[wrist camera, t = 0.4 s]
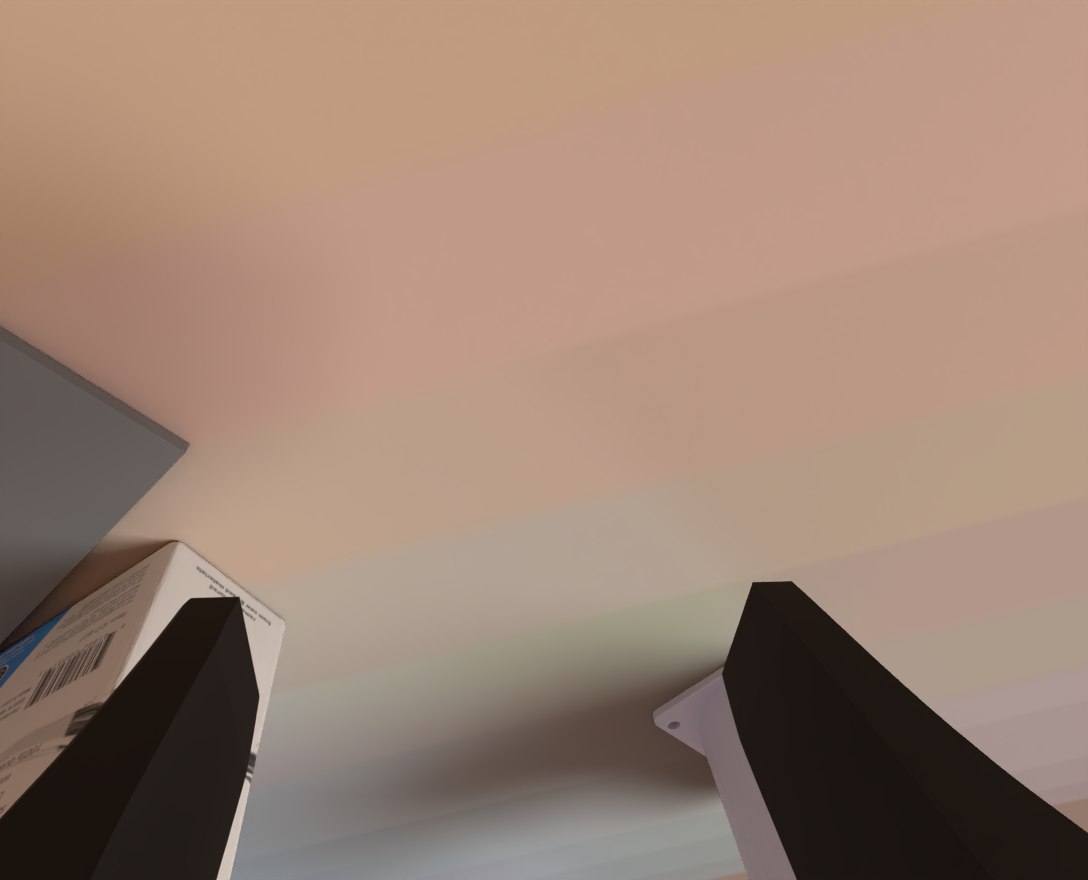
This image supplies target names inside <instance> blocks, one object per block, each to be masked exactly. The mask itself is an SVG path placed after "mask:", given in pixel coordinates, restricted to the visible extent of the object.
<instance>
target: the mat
mask: <svg viewBox="0 0 1088 880" xmlns="http://www.w3.org/2000/svg"><path fill="white" fill-rule="evenodd" d="M188 446H189V443H187V442H186V441H184V440H182V439H181V438H179V437H177V436H176V435H174V434H173V433H171V432H169V431H168V430H166V429H165V428H163V427H161V426H160V425H158V424H156V423H155V422H153V421H152V420H150V419H148V418H147V417H145V416H144V415H142V414H140V413H139V412H137V411H135V410H134V409H132V408H131V407H129V406H127V405H126V404H124V403H123V402H121V401H119V400H118V399H116V398H114V397H113V396H111V395H110V394H108V393H106V392H105V391H103V390H102V389H100V388H98V387H97V386H95V385H93V384H92V383H90V382H89V381H87V380H85V379H84V378H82V377H81V376H79V375H77V374H76V373H74V372H72V371H71V370H69V369H68V368H66V367H64V366H63V365H61V364H60V363H58V362H56V361H55V360H53V359H51V358H50V357H48V356H47V355H45V354H43V353H42V352H40V351H39V350H37V349H35V348H34V347H32V346H30V345H29V344H27V343H26V342H24V341H22V340H21V339H19V338H18V337H16V336H14V335H13V334H11V333H9V332H8V331H6V330H5V329H3V328H1V327H0V644H1V643H2V642H3V641H4V640H5V639H6V638H7V637H8V636H9V635H10V634H11V633H12V632H13V631H14V630H15V628H16V627H17V626H18V625H19V624H20V623H21V622H22V621H23V620H24V619H25V618H26V617H27V616H28V615H29V614H30V613H31V612H32V611H33V610H34V609H35V608H36V607H37V606H38V605H39V604H40V603H41V602H42V600H43V599H44V598H45V597H46V596H47V595H48V594H49V593H50V592H51V591H52V590H53V589H54V588H55V587H56V586H57V585H58V584H59V583H60V582H61V581H62V580H63V579H64V578H65V577H66V576H67V575H68V574H69V573H70V571H71V570H72V569H73V568H74V567H75V566H76V565H77V564H78V563H79V562H80V561H81V560H82V559H83V558H84V557H85V556H86V555H87V554H88V553H89V552H90V551H91V550H92V549H93V548H94V547H95V546H96V545H97V543H98V542H99V541H100V540H101V539H102V538H103V537H104V536H105V535H106V534H107V533H108V532H109V531H110V530H111V529H112V528H113V527H114V526H115V525H116V524H117V523H118V522H119V521H120V520H121V519H122V518H123V517H124V515H125V514H126V513H127V512H128V511H129V510H130V509H131V508H132V507H133V506H134V505H135V504H136V503H137V502H138V501H139V500H140V499H141V498H142V497H143V496H144V495H145V494H146V493H147V492H148V491H149V490H150V489H151V488H152V486H153V485H154V484H155V483H156V482H157V481H158V480H159V479H160V478H161V477H162V476H163V475H164V474H165V473H166V472H167V471H168V470H169V469H170V468H171V467H172V466H173V465H174V464H175V463H176V462H177V461H178V460H179V458H180V457H181V456H182V455H183V454H184V453H185V452H186V450H187V448H188Z"/></svg>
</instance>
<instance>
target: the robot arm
mask: <svg viewBox="0 0 1088 880" xmlns="http://www.w3.org/2000/svg"><path fill="white" fill-rule="evenodd" d="M259 698H260V695H259V690H258V685H257V680H256V675H255V670H254V665H253V660H252V656H251V651H250V646H249V641H248V636H247V631H246V626H245V621H244V616H243V611H242V606H241V601H240V597H207V598H190V599H189V600H188V601H187V602H186V603H184V604H183V606H182V607H181V608H180V609H179V611H178V612H177V613H176V615H175V616H174V617H173V618H172V620H171V621H170V622H169V623H168V625H167V626H166V627H165V629H164V630H163V631H162V632H161V634H160V635H159V636H158V637H157V639H156V640H155V641H154V643H153V644H152V645H151V646H150V648H149V649H148V650H147V651H146V653H145V654H144V655H143V656H142V658H141V659H140V660H139V661H138V663H137V664H136V665H135V666H134V667H133V669H132V670H131V671H130V672H129V673H128V675H127V676H126V677H125V678H124V680H123V681H122V682H121V683H120V684H119V686H118V687H117V688H116V689H115V691H114V692H113V693H112V694H111V695H110V696H109V698H108V699H107V700H106V701H105V702H104V703H103V705H102V706H101V707H100V708H99V709H98V710H97V712H96V713H95V714H94V715H93V716H92V717H91V719H90V720H89V721H88V722H87V723H86V724H85V725H84V727H83V728H82V729H81V730H80V731H79V732H78V734H77V735H76V736H75V737H74V738H73V739H72V741H71V742H70V743H69V744H68V745H67V746H66V747H65V749H64V750H63V751H62V752H61V753H60V754H59V755H58V756H57V758H56V759H55V760H54V761H53V762H52V763H51V764H50V765H49V766H48V767H47V768H46V770H45V771H44V772H43V773H42V774H41V775H40V776H39V777H38V778H37V779H36V780H35V781H34V782H33V783H32V785H31V786H30V787H29V788H28V789H27V790H26V791H25V792H24V793H23V794H22V795H21V796H20V797H19V798H18V800H17V801H16V802H15V803H14V804H13V805H12V806H11V807H10V808H9V809H8V810H7V811H6V812H5V813H4V815H3V816H2V817H1V818H0V880H217V876H218V873H219V869H220V866H221V862H222V859H223V855H224V852H225V849H226V845H227V842H228V838H229V835H230V831H231V828H232V824H233V820H234V817H235V813H236V810H237V806H238V803H239V799H240V796H241V792H242V788H243V785H244V781H245V778H246V774H247V769H248V763H249V758H250V752H251V747H252V741H253V735H254V729H255V723H256V716H257V710H258V704H259ZM653 720H654V723H655V725H656V726H658V727H659V728H661V729H662V730H664V731H666V732H667V733H669V734H670V735H672V736H674V737H675V738H677V739H678V740H680V741H682V742H683V743H685V744H686V745H688V746H690V747H691V748H693V749H694V750H696V751H697V752H699V753H701V754H702V755H704V756H705V757H707V760H708V763H709V766H710V769H711V771H712V774H713V777H714V780H715V783H716V786H717V789H718V792H719V795H720V797H721V800H722V803H723V806H724V809H725V812H726V815H727V818H728V820H729V823H730V826H731V829H732V832H733V835H734V838H735V841H736V844H737V846H738V849H739V852H740V855H741V858H742V861H743V864H744V867H745V870H746V872H747V875H748V878H749V880H1088V833H1087V832H1086V831H1084V830H1083V829H1082V828H1080V827H1079V826H1078V825H1076V824H1075V823H1074V822H1072V821H1071V820H1070V819H1068V818H1067V817H1066V816H1064V815H1063V814H1062V813H1060V812H1059V811H1057V810H1056V809H1055V808H1053V807H1052V806H1051V805H1049V804H1048V803H1047V802H1045V801H1044V800H1043V799H1041V798H1040V797H1039V796H1037V795H1036V794H1035V793H1033V792H1032V791H1030V790H1029V789H1028V788H1027V787H1025V786H1024V785H1023V784H1021V783H1020V782H1019V781H1018V780H1016V779H1015V778H1014V777H1012V776H1011V775H1010V774H1009V773H1007V772H1006V771H1005V770H1003V769H1002V768H1001V767H1000V766H998V765H997V764H996V763H995V762H994V761H992V760H991V759H990V758H989V757H988V756H986V755H985V754H984V753H983V752H981V751H980V750H979V749H978V748H977V747H975V746H974V745H973V744H972V743H971V742H969V741H968V740H967V739H966V738H965V737H963V736H962V735H961V734H960V733H958V732H957V731H956V730H955V729H954V728H952V727H951V726H950V725H949V724H948V723H947V722H945V721H944V720H943V719H942V718H941V717H940V716H938V715H937V714H936V713H935V712H934V711H933V710H932V709H930V708H929V707H928V706H927V705H926V704H925V703H924V702H922V701H921V700H920V699H919V698H918V697H917V696H916V695H914V694H913V693H912V692H911V691H910V690H909V689H908V688H907V687H906V686H904V685H903V684H902V683H901V682H900V681H899V680H898V679H897V678H896V677H894V676H893V675H892V674H891V673H890V672H889V671H888V670H887V669H886V668H885V667H884V666H882V665H881V664H880V663H879V662H878V661H877V660H876V659H875V658H874V657H873V656H872V655H871V654H869V653H868V652H867V651H866V650H865V649H864V648H863V647H862V646H861V645H860V644H859V643H858V642H857V641H856V640H854V639H853V638H852V637H851V636H850V635H849V634H848V633H847V632H846V631H845V630H844V629H843V628H842V627H841V626H840V625H838V624H837V623H836V622H835V621H834V620H833V619H832V618H831V617H830V616H829V615H828V614H827V613H826V612H825V611H824V610H822V609H821V608H820V607H819V606H818V605H817V604H816V603H815V602H814V601H813V600H812V599H811V598H809V597H808V596H807V595H806V594H805V593H804V592H803V591H802V590H801V589H800V588H798V587H797V586H796V585H795V584H794V583H793V582H792V581H785V582H753V583H752V586H751V589H750V592H749V595H748V598H747V601H746V604H745V607H744V610H743V613H742V616H741V619H740V622H739V625H738V628H737V631H736V633H735V636H734V639H733V642H732V645H731V648H730V651H729V654H728V657H727V660H726V663H725V665H724V666H723V667H721V668H720V669H718V670H717V671H715V672H713V673H712V674H710V675H709V676H707V677H706V678H704V679H702V680H701V681H699V682H698V683H696V684H695V685H693V686H692V687H690V688H688V689H687V690H685V691H684V692H682V693H681V694H679V695H678V696H676V697H674V698H673V699H671V700H670V701H668V702H667V703H665V704H663V705H662V706H660V707H659V708H657V709H656V710H655V711H654V712H653Z"/></svg>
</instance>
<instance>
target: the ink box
mask: <svg viewBox="0 0 1088 880" xmlns="http://www.w3.org/2000/svg"><path fill="white" fill-rule="evenodd" d="M207 597H240V601H241V606H242V611H243V616H244V621H245V626H246V631H247V636H248V641H249V646H250V651H251V656H252V660H253V665H254V670H255V675H256V680H257V685H258V690H259V695H260V698H259V704H258V710H257V716H256V723H255V729H254V735H253V741H252V747H251V752H250V758H249V763H248V769H247V774H246V778H245V781H244V785H243V788H242V792H241V796H240V799H239V803H238V806H237V810H236V813H235V817H234V820H233V824H232V828H231V831H230V835H229V838H228V842H227V845H226V849H225V852H224V855H223V859H222V862H221V866H220V869H219V873H218V876H217V880H230V877H231V872H232V867H233V863H234V858H235V853H236V849H237V844H238V840H239V835H240V831H241V826H242V822H243V817H244V812H245V807H246V803H247V798H248V794H249V789H250V784H251V779H252V776H253V769H254V766H255V761H256V756H257V752H258V748H259V743H260V739H261V734H262V730H263V725H264V721H265V716H266V712H267V707H268V703H269V698H270V693H271V688H272V683H273V679H274V674H275V670H276V666H277V662H278V657H279V652H280V648H281V643H282V638H283V634H284V629H285V622H284V621H283V620H282V619H281V618H280V617H278V616H277V615H275V614H274V613H273V612H271V611H270V610H269V609H267V608H266V607H265V606H264V605H262V604H261V603H260V602H258V601H257V600H255V599H254V598H253V597H252V596H250V595H249V594H248V593H246V592H245V591H244V590H243V589H241V588H240V587H239V586H238V585H236V584H235V583H234V582H233V581H231V580H230V579H229V578H227V577H226V576H225V575H223V574H222V573H221V572H219V571H218V570H217V569H216V568H214V567H213V566H212V565H210V564H209V563H208V562H206V561H205V560H204V559H202V558H201V557H200V556H198V555H197V554H196V553H194V552H193V551H192V550H191V549H189V548H188V547H187V546H186V545H185V544H183V543H181V542H171V543H169V544H167V545H166V546H164V547H163V548H161V549H160V550H158V551H156V552H155V553H153V554H152V555H150V556H148V557H147V558H145V559H144V560H142V561H141V562H139V563H138V564H136V565H135V566H133V567H132V568H130V569H129V570H127V571H126V572H124V573H123V574H121V575H120V576H118V577H116V578H115V579H113V580H112V581H110V582H109V583H107V584H106V585H104V586H103V587H101V588H100V589H98V590H97V591H95V592H93V593H92V594H90V595H89V596H87V597H86V598H84V599H83V600H81V601H79V602H78V603H76V604H75V605H73V606H72V607H70V608H69V609H67V610H65V611H64V612H62V613H61V614H59V615H58V616H56V617H55V618H53V619H52V620H50V621H49V622H47V623H46V624H44V625H43V626H41V627H40V628H38V629H37V630H35V631H33V632H32V633H30V634H29V635H27V636H26V637H24V638H23V639H21V640H20V641H18V642H17V643H15V644H14V645H12V646H11V647H9V648H7V649H6V650H4V651H3V652H1V653H0V818H1V817H2V816H3V815H4V813H5V812H6V811H7V810H8V809H9V808H10V807H11V806H12V805H13V804H14V803H15V802H16V801H17V800H18V798H19V797H20V796H21V795H22V794H23V793H24V792H25V791H26V790H27V789H28V788H29V787H30V786H31V785H32V783H33V782H34V781H35V780H36V779H37V778H38V777H39V776H40V775H41V774H42V773H43V772H44V771H45V770H46V768H47V767H48V766H49V765H50V764H51V763H52V762H53V761H54V760H55V759H56V758H57V756H58V755H59V754H60V753H61V752H62V751H63V750H64V749H65V747H66V746H67V745H68V744H69V743H70V742H71V741H72V739H73V738H74V737H75V736H76V735H77V734H78V732H79V731H80V730H81V729H82V728H83V727H84V725H85V724H86V723H87V722H88V721H89V720H90V719H91V717H92V716H93V715H94V714H95V713H96V712H97V710H98V709H99V708H100V707H101V706H102V705H103V703H104V702H105V701H106V700H107V699H108V698H109V696H110V695H111V694H112V693H113V692H114V691H115V689H116V688H117V687H118V686H119V684H120V683H121V682H122V681H123V680H124V678H125V677H126V676H127V675H128V673H129V672H130V671H131V670H132V669H133V667H134V666H135V665H136V664H137V663H138V661H139V660H140V659H141V658H142V656H143V655H144V654H145V653H146V651H147V650H148V649H149V648H150V646H151V645H152V644H153V643H154V641H155V640H156V639H157V637H158V636H159V635H160V634H161V632H162V631H163V630H164V629H165V627H166V626H167V625H168V623H169V622H170V621H171V620H172V618H173V617H174V616H175V615H176V613H177V612H178V611H179V609H180V608H181V607H182V606H183V604H184V603H186V602H187V601H188V600H189V599H190V598H207Z"/></svg>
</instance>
